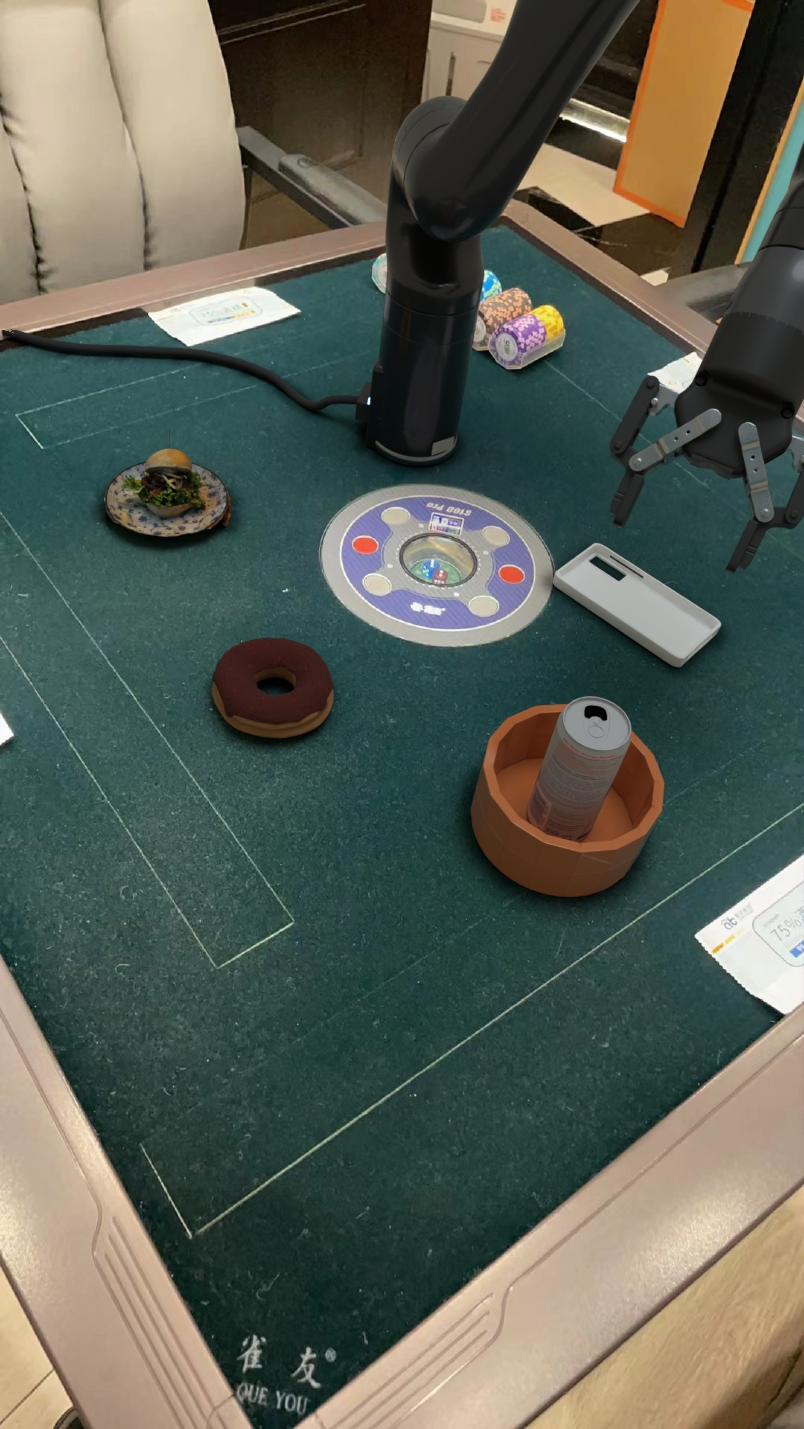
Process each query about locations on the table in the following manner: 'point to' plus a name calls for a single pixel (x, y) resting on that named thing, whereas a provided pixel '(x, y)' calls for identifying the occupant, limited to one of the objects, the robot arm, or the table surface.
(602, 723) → the energy drink
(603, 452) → the table surface
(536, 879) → the bowl
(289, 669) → the donut
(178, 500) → the burger
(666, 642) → the phone case
